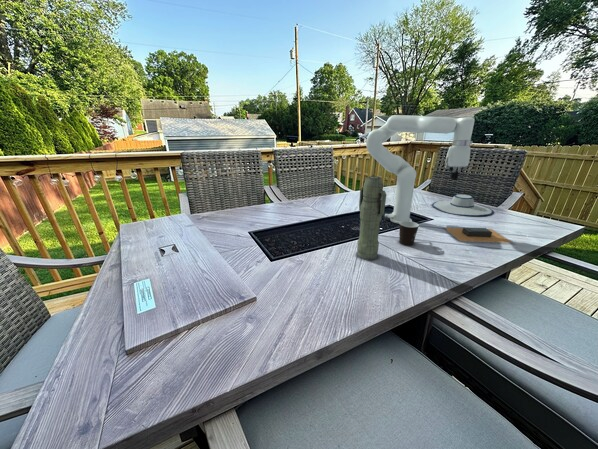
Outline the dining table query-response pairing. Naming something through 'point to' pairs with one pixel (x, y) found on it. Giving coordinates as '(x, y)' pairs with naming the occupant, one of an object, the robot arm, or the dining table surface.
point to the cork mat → (462, 237)
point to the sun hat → (462, 206)
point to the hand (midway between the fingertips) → (453, 179)
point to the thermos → (370, 216)
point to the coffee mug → (407, 232)
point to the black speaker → (476, 232)
